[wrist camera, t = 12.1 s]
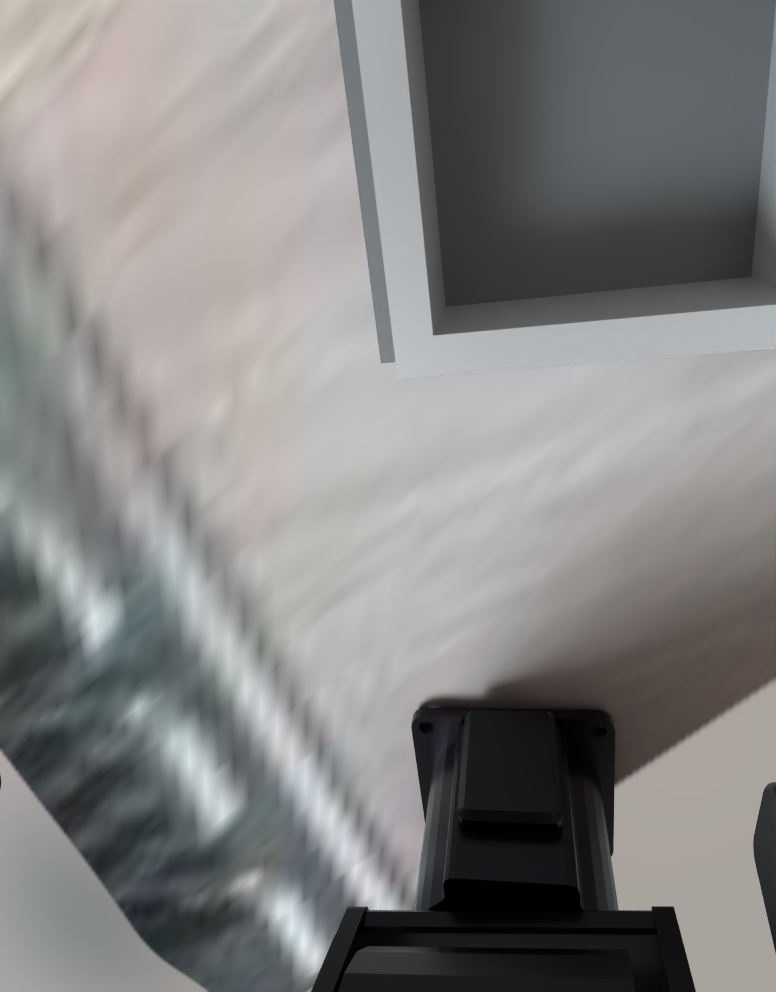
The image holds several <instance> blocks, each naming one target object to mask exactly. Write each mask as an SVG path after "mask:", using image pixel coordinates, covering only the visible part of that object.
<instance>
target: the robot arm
mask: <svg viewBox="0 0 776 992" xmlns="http://www.w3.org/2000/svg"><path fill="white" fill-rule="evenodd" d="M422 722H429V723H431V725H426V724H424V723H422ZM595 725H602V726H603V727H601V728H594V727H593V726H595ZM412 734H413V741H414V748H415V755H416V762H417V769H418V776H419V783H420V790H421V797H422V804H423V811H424V818H425V831H424V839H423V847H422V855H421V862H420V870H419V878H418V886H417V894H416V902H415V909H414V910H369V909H368V907H348V908H347V910H346V912H345V914H344V917H343V919H342V922H341V924H340V926H339V929H338V931H337V933H336V935H335V936H334V938H333V941H332V943H331V946H330V948H329V950H328V953H327V955H326V958H325V960H324V962H323V965H322V967H321V970H320V972H319V974H318V977H317V979H316V982H315V984H314V986H313V989H312V991H311V992H696V991H695V987H694V983H693V979H692V976H691V972H690V968H689V964H688V960H687V956H686V952H685V948H684V945H683V941H682V937H681V933H680V930H679V925H678V922H677V918H676V914H675V911H674V907H652V911H619V910H618V904H617V896H616V889H615V883H614V876H613V869H612V862H611V856H612V854H613V833H614V830H613V828H614V765H615V729H614V723H613V719H612V717H611V716H610V715H609V714H608V713H606V712H604V711H600V710H563V709H491V708H420V709H419V710H417V711H416V712H415V713H414V715H413V720H412ZM0 787H1V776H0ZM753 846H754V858H755V863H756V868H757V873H758V877H759V882H760V885H761V890H762V895H763V899H764V903H765V908H766V912H767V917H768V921H769V925H770V930H771V934H772V939H773V943H774V947H775V952H776V782H773V783H770V784H768V785H767V786H766V788H765V789H764V792H763V796H762V801H761V806H760V810H759V815H758V820H757V825H756V829H755V834H754V845H753Z"/></svg>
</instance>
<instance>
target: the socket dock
mask: <svg viewBox="0 0 776 992" xmlns="http://www.w3.org/2000/svg"><path fill="white" fill-rule="evenodd" d="M334 5H335V13H336V21H337V28H338V36H339V44H340V51H341V59H342V67H343V75H344V82H345V90H346V98H347V105H348V113H349V121H350V128H351V136H352V144H353V151H354V159H355V167H356V174H357V182H358V190H359V198H360V205H361V213H362V221H363V228H364V236H365V244H366V251H367V259H368V267H369V274H370V282H371V290H372V297H373V305H374V313H375V321H376V328H377V336H378V344H379V351H380V359H381V363H390V362H396V370H397V378H398V379H400V378H412V377H425V376H437V375H450V374H463V373H475V372H488V371H501V370H513V369H526V368H538V367H551V366H564V365H576V364H589V363H601V362H614V361H627V360H639V359H652V358H664V357H677V356H690V355H702V354H715V353H727V352H740V351H753V350H765V349H776V0H334Z"/></svg>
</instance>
